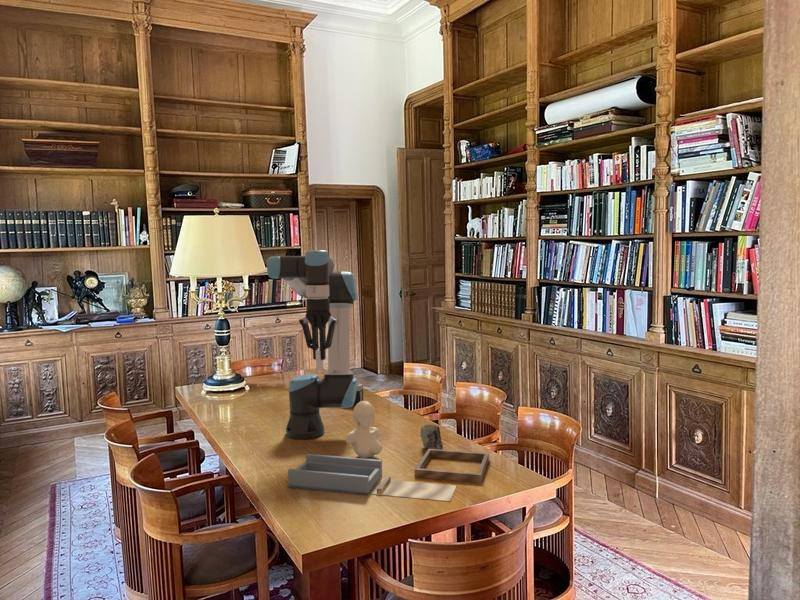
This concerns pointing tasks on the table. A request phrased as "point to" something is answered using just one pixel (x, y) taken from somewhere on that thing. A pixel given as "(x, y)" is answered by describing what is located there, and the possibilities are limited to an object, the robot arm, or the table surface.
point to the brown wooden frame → (452, 474)
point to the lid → (413, 490)
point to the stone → (431, 437)
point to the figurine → (364, 431)
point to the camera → (359, 394)
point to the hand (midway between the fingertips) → (319, 369)
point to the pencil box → (336, 474)
